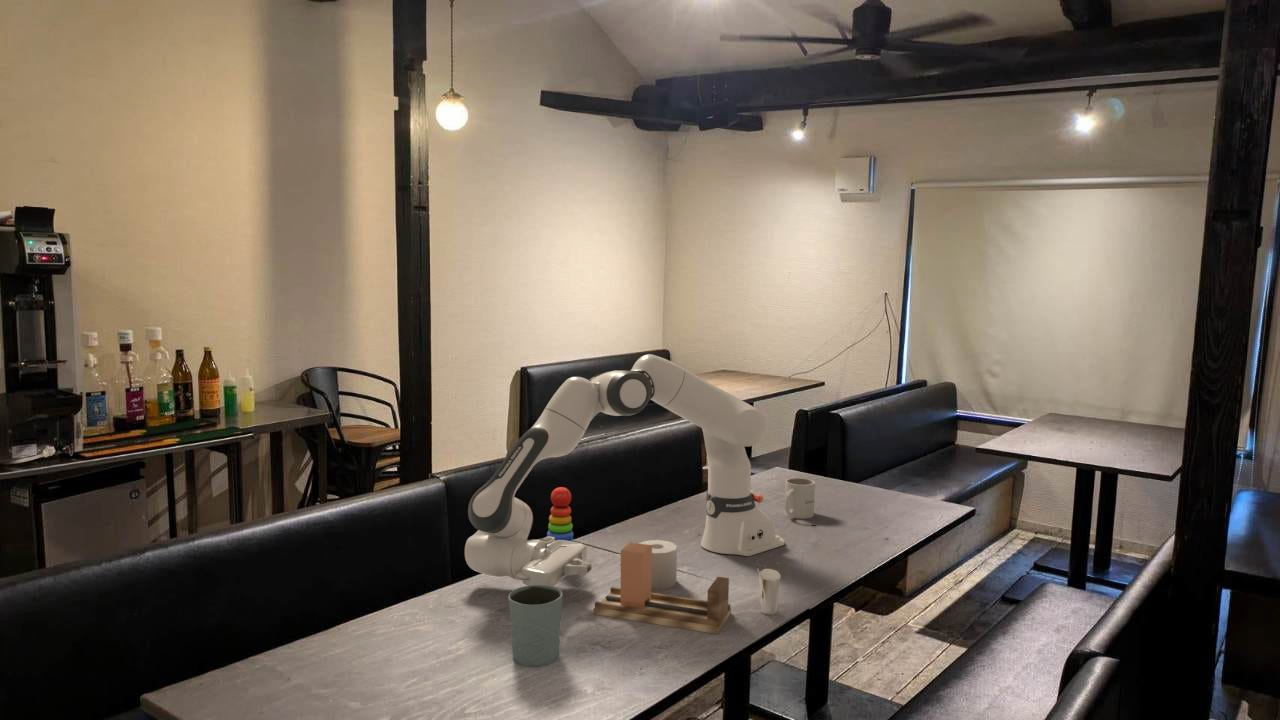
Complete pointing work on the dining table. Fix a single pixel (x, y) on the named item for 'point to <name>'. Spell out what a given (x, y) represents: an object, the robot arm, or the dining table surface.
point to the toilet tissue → (663, 564)
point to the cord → (664, 606)
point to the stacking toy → (560, 515)
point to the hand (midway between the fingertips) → (589, 569)
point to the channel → (707, 623)
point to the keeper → (636, 575)
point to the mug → (799, 498)
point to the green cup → (535, 624)
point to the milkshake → (769, 590)
